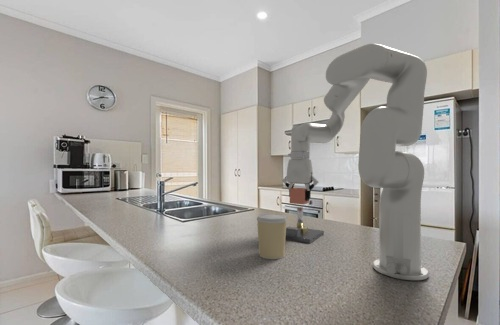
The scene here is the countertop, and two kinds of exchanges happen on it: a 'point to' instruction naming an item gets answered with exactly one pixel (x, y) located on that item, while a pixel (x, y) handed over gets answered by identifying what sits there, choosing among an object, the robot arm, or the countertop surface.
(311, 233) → the shaft base
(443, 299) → the countertop surface
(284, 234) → the coffee cup
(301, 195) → the pink hollow cube
